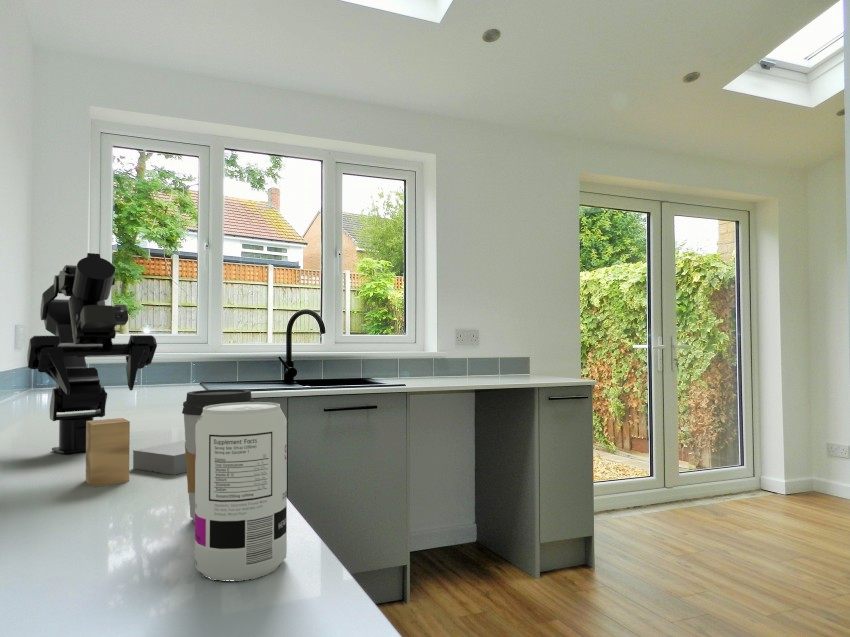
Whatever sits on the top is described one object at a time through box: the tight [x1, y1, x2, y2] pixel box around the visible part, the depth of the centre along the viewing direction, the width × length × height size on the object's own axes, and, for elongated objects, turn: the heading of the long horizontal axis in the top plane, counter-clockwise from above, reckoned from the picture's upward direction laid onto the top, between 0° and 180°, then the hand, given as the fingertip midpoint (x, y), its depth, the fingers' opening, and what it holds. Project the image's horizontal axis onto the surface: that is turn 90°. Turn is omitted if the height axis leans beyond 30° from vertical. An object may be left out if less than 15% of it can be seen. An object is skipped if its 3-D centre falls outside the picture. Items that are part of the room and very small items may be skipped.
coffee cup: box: [181, 388, 255, 524], centre depth 69 cm, size 8×8×15 cm
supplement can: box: [194, 401, 288, 582], centre depth 55 cm, size 8×8×15 cm
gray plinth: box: [132, 440, 187, 476], centre depth 98 cm, size 10×10×3 cm
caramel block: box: [85, 417, 131, 488], centre depth 88 cm, size 5×5×9 cm
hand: (101, 390), depth 95 cm, fingers open, 9 cm apart
